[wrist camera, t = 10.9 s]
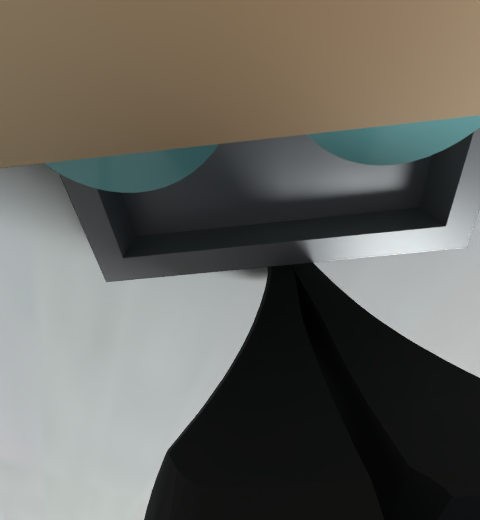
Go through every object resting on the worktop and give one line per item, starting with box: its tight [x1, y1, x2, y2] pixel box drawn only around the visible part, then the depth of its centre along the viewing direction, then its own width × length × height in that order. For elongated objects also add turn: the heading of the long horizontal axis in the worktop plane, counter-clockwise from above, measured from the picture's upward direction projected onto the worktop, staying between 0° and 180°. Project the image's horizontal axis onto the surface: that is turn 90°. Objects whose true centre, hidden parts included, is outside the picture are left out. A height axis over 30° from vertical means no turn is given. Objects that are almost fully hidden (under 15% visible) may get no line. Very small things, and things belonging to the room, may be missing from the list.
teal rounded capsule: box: [43, 144, 219, 193], centre depth 6 cm, size 4×4×4 cm
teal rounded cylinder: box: [306, 115, 480, 166], centre depth 5 cm, size 4×4×4 cm
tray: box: [59, 128, 480, 282], centre depth 7 cm, size 11×11×2 cm
